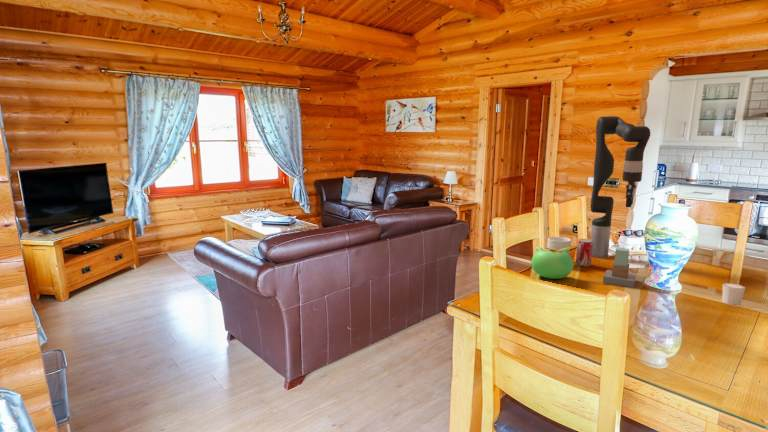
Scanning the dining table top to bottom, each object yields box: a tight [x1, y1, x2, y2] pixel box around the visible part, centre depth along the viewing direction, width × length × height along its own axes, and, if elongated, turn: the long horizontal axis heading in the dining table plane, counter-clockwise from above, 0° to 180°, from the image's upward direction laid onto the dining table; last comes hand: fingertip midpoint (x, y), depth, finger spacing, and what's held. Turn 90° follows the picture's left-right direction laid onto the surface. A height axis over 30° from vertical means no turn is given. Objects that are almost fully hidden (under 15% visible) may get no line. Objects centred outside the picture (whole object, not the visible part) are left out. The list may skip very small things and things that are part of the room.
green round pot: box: [530, 246, 574, 280], centre depth 193 cm, size 18×17×15 cm
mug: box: [546, 236, 572, 255], centre depth 218 cm, size 15×11×13 cm
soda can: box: [575, 238, 593, 268], centre depth 213 cm, size 7×7×13 cm
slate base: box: [602, 269, 637, 289], centre depth 188 cm, size 12×12×3 cm
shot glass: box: [721, 282, 746, 306], centre depth 163 cm, size 7×7×7 cm
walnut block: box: [611, 263, 630, 278], centre depth 188 cm, size 6×6×5 cm
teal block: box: [613, 247, 630, 267], centre depth 187 cm, size 5×5×7 cm
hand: (629, 205), depth 193 cm, fingers open, 8 cm apart
